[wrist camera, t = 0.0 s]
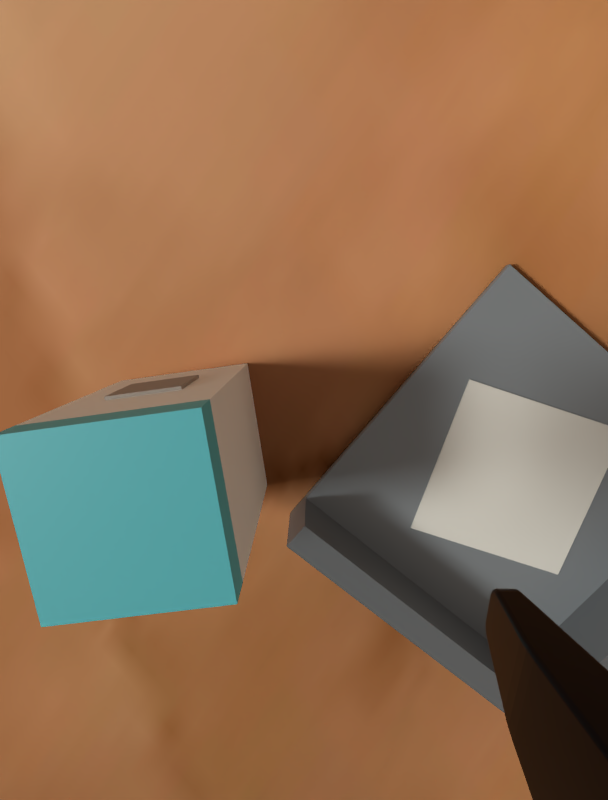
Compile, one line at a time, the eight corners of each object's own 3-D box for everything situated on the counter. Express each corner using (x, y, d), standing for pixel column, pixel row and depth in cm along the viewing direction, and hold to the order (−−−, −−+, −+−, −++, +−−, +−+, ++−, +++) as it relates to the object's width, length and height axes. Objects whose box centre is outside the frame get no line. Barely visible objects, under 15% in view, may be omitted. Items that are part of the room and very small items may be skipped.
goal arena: (516, 687, 27) (546, 745, 23) (290, 512, 25) (286, 546, 22) (740, 474, 24) (810, 502, 21) (506, 265, 23) (540, 258, 19)
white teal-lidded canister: (267, 484, 25) (237, 604, 15) (146, 500, 25) (41, 627, 16) (246, 360, 24) (200, 402, 14) (121, 378, 24) (-11, 431, 14)
